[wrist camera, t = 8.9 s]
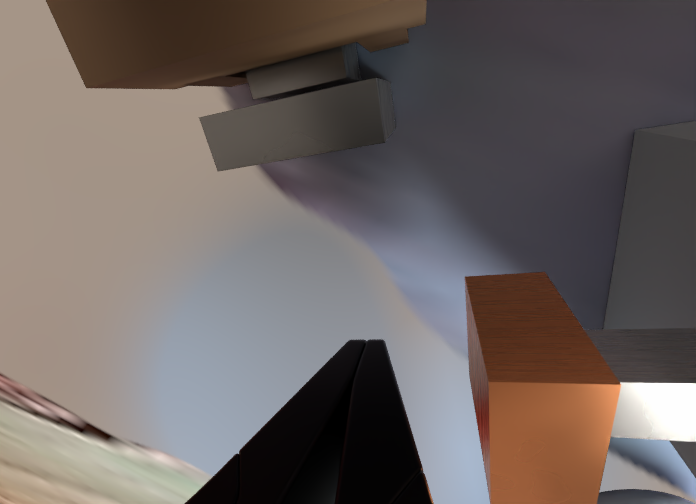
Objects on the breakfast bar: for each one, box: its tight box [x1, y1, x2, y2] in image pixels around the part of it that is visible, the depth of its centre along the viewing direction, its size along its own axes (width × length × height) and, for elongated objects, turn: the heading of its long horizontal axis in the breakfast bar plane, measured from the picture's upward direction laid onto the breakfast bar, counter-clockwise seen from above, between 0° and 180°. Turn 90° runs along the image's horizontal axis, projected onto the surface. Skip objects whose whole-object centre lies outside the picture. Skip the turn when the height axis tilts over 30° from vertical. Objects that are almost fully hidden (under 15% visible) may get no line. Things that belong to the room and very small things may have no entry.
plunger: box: [465, 272, 696, 504], centre depth 6 cm, size 7×3×3 cm, turn 102°
